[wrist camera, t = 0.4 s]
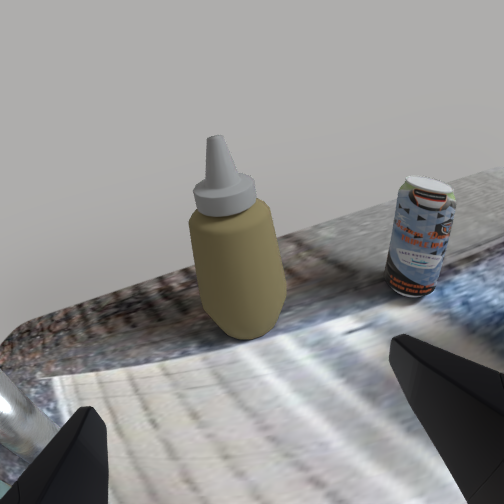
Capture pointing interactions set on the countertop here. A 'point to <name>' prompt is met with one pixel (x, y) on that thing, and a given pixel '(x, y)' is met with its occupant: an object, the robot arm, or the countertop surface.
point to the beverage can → (419, 235)
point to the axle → (22, 422)
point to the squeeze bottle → (235, 249)
